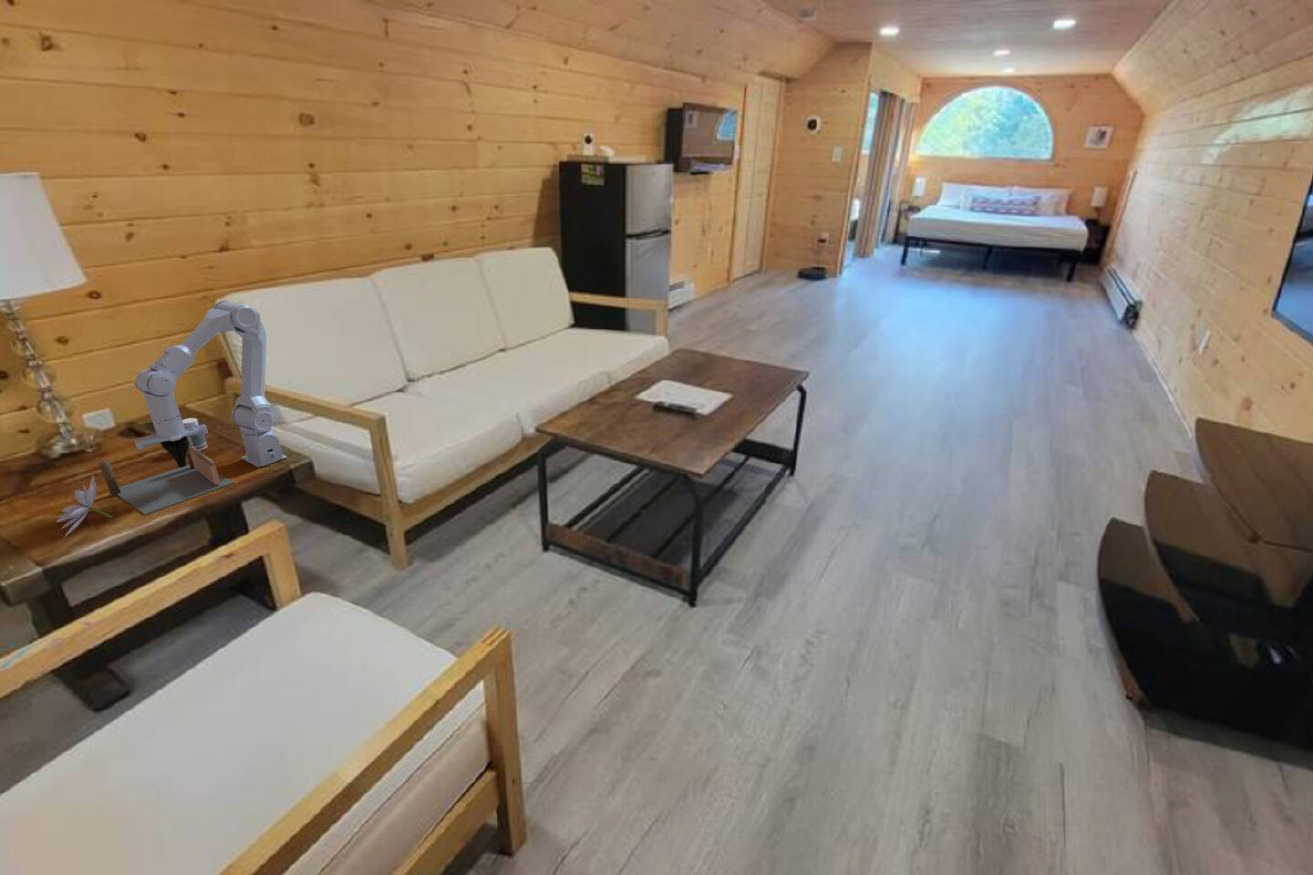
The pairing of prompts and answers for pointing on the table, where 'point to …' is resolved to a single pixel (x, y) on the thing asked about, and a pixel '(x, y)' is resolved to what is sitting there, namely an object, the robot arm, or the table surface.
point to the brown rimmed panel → (204, 465)
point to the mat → (168, 489)
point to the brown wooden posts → (111, 478)
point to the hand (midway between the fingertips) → (182, 465)
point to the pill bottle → (199, 439)
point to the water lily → (81, 507)
